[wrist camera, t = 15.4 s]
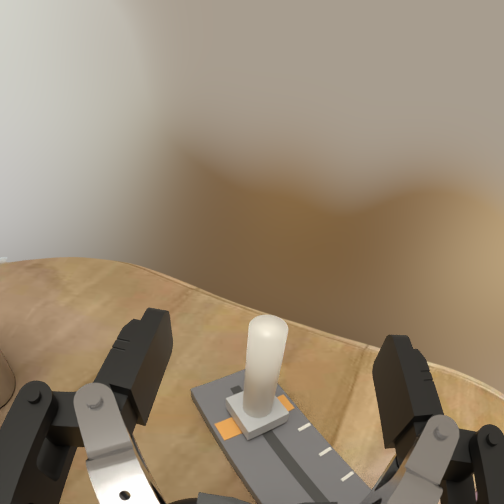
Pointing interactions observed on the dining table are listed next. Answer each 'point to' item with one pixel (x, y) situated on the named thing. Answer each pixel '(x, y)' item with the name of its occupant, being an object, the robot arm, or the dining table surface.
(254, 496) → the track board
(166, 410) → the dining table surface
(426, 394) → the robot arm
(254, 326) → the fader
